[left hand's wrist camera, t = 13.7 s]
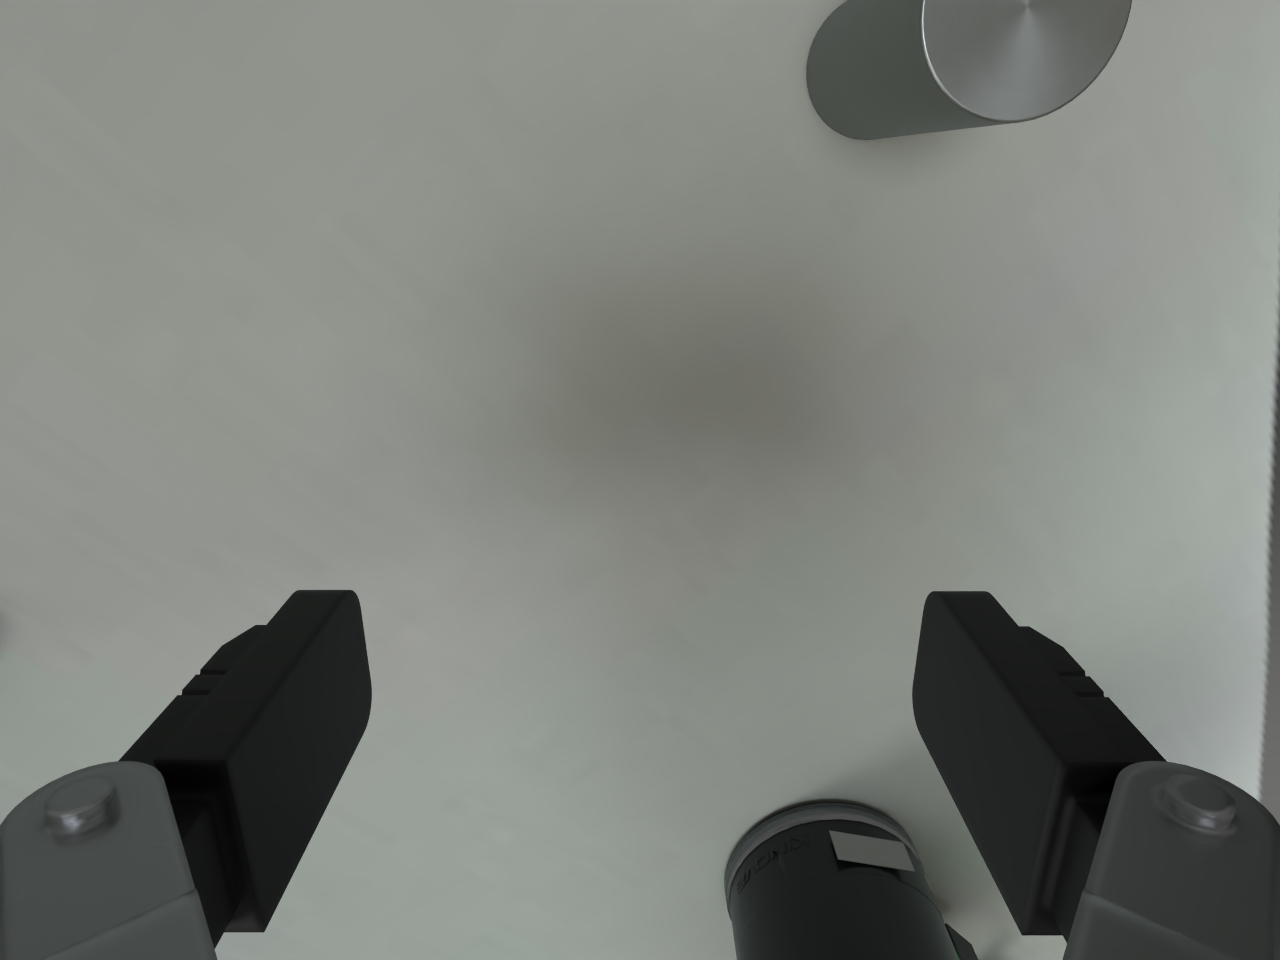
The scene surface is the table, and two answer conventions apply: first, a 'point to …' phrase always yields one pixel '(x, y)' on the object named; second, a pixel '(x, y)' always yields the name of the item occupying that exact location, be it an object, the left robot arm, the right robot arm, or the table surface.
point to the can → (956, 62)
